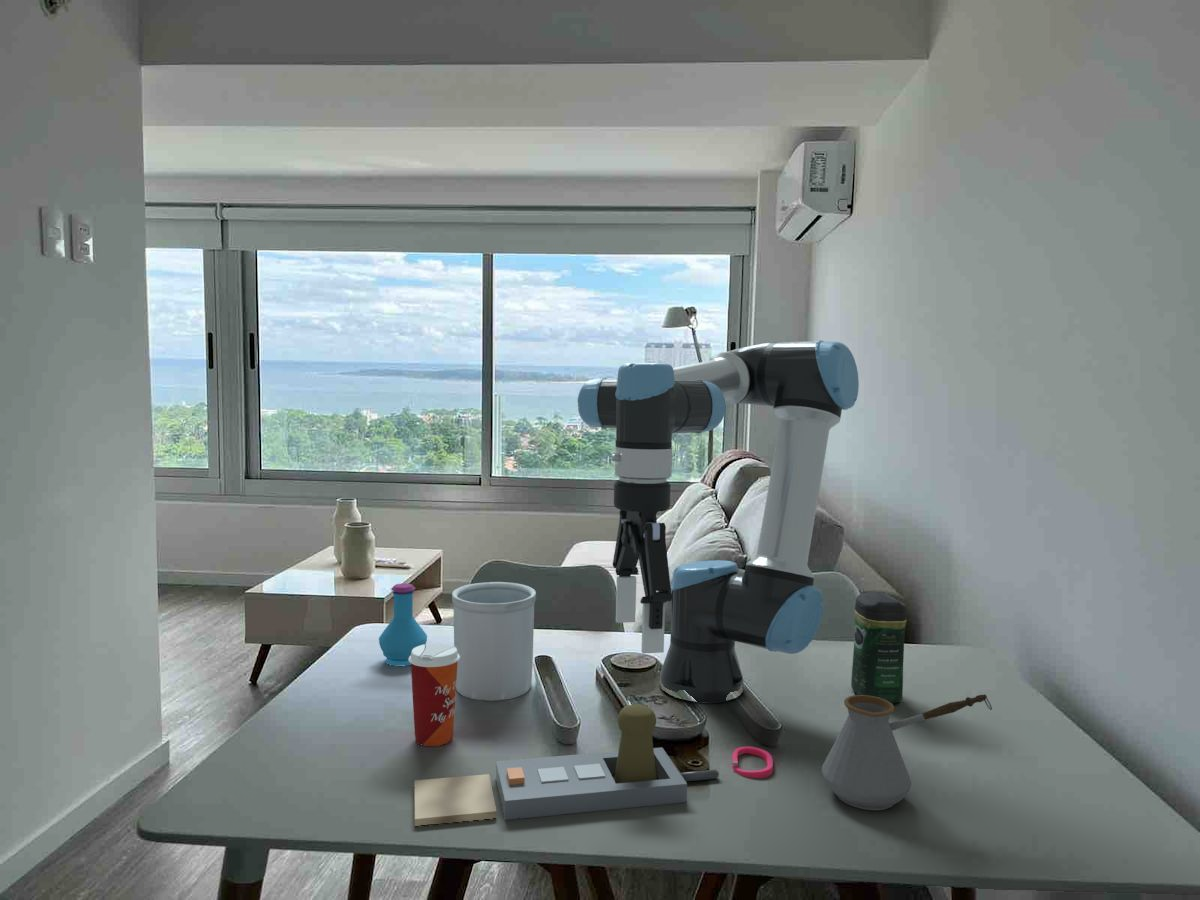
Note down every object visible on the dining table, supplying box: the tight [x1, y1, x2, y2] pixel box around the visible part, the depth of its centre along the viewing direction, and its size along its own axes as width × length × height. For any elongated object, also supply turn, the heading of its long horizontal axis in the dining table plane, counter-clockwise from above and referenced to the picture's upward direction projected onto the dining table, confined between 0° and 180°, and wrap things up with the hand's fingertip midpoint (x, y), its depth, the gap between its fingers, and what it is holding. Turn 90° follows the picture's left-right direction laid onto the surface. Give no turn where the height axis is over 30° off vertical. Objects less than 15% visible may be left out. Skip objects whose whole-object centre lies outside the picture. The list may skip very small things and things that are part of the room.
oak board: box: [414, 773, 497, 827], centre depth 106 cm, size 10×10×1 cm
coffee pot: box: [821, 694, 993, 811], centre depth 109 cm, size 21×12×15 cm, turn 84°
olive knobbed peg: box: [613, 704, 658, 784], centre depth 112 cm, size 6×6×11 cm
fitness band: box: [731, 746, 774, 779], centre depth 119 cm, size 8×6×2 cm
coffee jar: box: [850, 590, 908, 704], centre depth 146 cm, size 10×8×19 cm
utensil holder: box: [451, 581, 537, 702], centre depth 147 cm, size 15×15×18 cm
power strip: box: [495, 747, 720, 821], centre depth 111 cm, size 31×11×3 cm, turn 103°
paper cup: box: [409, 642, 460, 747], centre depth 125 cm, size 8×8×14 cm
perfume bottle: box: [378, 582, 428, 666], centre depth 160 cm, size 9×9×15 cm
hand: (638, 636), depth 110 cm, fingers open, 13 cm apart
